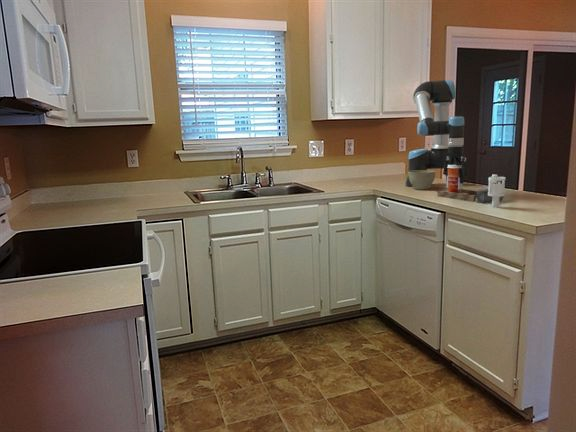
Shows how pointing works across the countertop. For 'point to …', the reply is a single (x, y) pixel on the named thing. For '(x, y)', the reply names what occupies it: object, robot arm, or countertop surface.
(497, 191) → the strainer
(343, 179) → the countertop surface
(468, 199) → the guide channel
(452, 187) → the coffee cup
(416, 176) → the planter bowl
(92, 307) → the countertop surface
